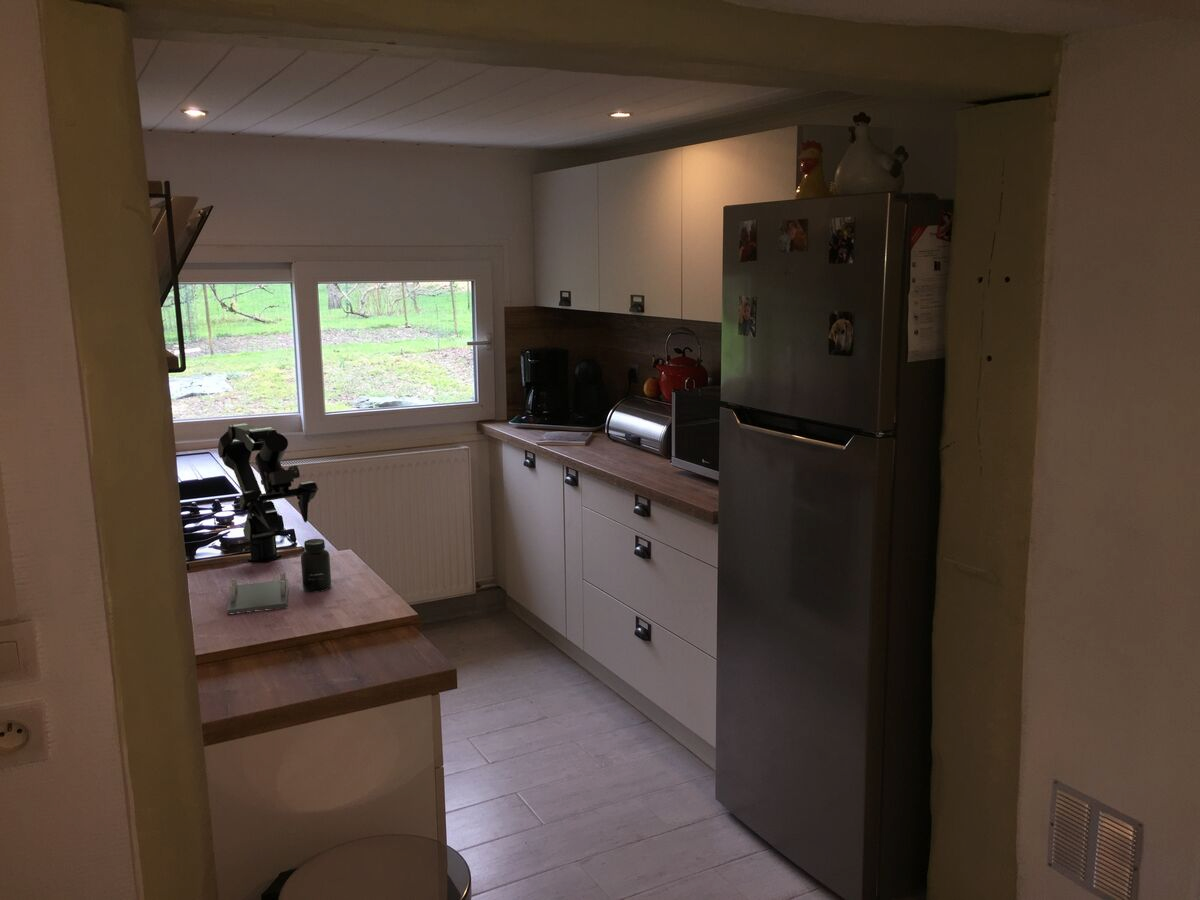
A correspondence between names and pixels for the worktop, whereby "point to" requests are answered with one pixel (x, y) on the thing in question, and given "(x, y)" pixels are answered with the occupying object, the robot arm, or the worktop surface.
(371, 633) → the worktop surface
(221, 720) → the worktop surface
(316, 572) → the supplement bottle
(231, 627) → the worktop surface
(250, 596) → the pin tray
